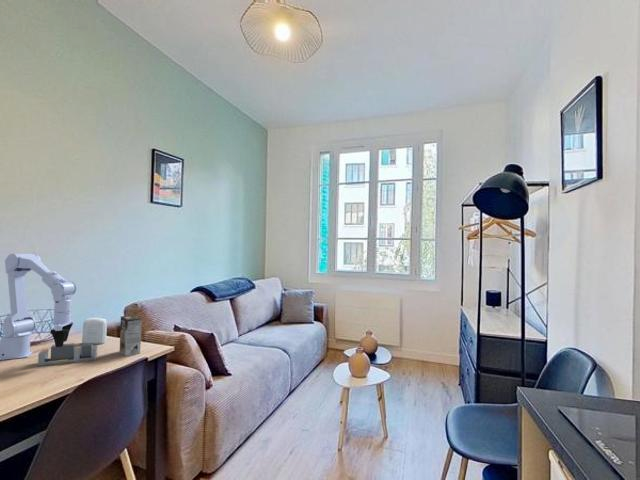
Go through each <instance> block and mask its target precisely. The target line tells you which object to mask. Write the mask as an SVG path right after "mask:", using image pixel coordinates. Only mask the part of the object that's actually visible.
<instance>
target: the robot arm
mask: <svg viewBox="0 0 640 480" xmlns="http://www.w3.org/2000/svg"><path fill="white" fill-rule="evenodd" d="M4 265H5V273H6V274H7V282H8V293H9V306H10V314H9V315H7V316H6V317H5V318H4V319H3V325H2V334H3V335H4V336H2V337H1V338H0V361H3V360H12V359H14V360H15V359H23V358H28V357H29V356H31V355H32V353H33V352H34V351H33V350H31V334H34V333H33V332H34V331H36V328H37V321H36V319H35V315H34V314H33V313H32V312H30V311H28V303H27V293H26V283H25V275H26V274H28V273H30V272H31V271H33V272H35V273H36V274H37V275H38V276H40V277H41V281H42V283H44V284H45V285H46V286H47V287H48V288H49V289H51V290H50V291H51V294H52V300H53V301H54V308H53V323H52V325H53V326H54V329H51V330H50V334H51V336H52V338H53V341H54V345H55V346H56V347H62V346H63V344H65V342H67V341H68V337H69V334H70V331H71V328H72V327H73V325H74V323H75V320H72V306H73V295H74V294H75V293H76V291H77V286H76V284H75V282H74V281H71V280H70V281H68V280H66V279H65V278H64V277H63V276H61V275H60V274H59V272H58V271H54V270H53V271H51V270H50V269H49V268H48V267H47V266H46V265H45V264H44V263H43V262H42V257H41V256H39V254H37V253H35V252H33V253H10V254H8V256H6V258H5V259H4Z"/></svg>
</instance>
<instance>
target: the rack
mask: <svg viewBox="0 0 640 480" xmlns="http://www.w3.org/2000/svg"><path fill="white" fill-rule="evenodd" d="M97 356H98V344H83V343H82V344H81V346H79V345H78V346H75V350H74V359H61V360H52V361H50V360H51V357H49V348H45V349H41V350H40V352H38V357H37V358H38V359H37V361H38V362H37V366H38V367H45V366H53V365H62V364H63V365H64V364H70V363H71V364H72V363H80V362H87V361H89V362H90V361H95V360H96V359H97Z"/></svg>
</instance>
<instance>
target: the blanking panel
mask: <svg viewBox="0 0 640 480" xmlns="http://www.w3.org/2000/svg"><path fill="white" fill-rule="evenodd" d="M75 345H76V343H72V342H71V343H63V346H62V347H56V346H55V344H52V345H51V346H50V358H51V360H50V361H52V360H61V359H74V350H75V348H76V346H75Z"/></svg>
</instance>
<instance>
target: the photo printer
mask: <svg viewBox="0 0 640 480" xmlns="http://www.w3.org/2000/svg"><path fill="white" fill-rule="evenodd" d="M107 327H108V320H107V319H105V318H103V317H102V318H101V317H89V318H87V319H85V320H84V321H83V323H82V339H81V343H82V345H83V344H92V345H99V344H100V345H101V344H103V345H104V344H106V342H107V330H108V329H107Z"/></svg>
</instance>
